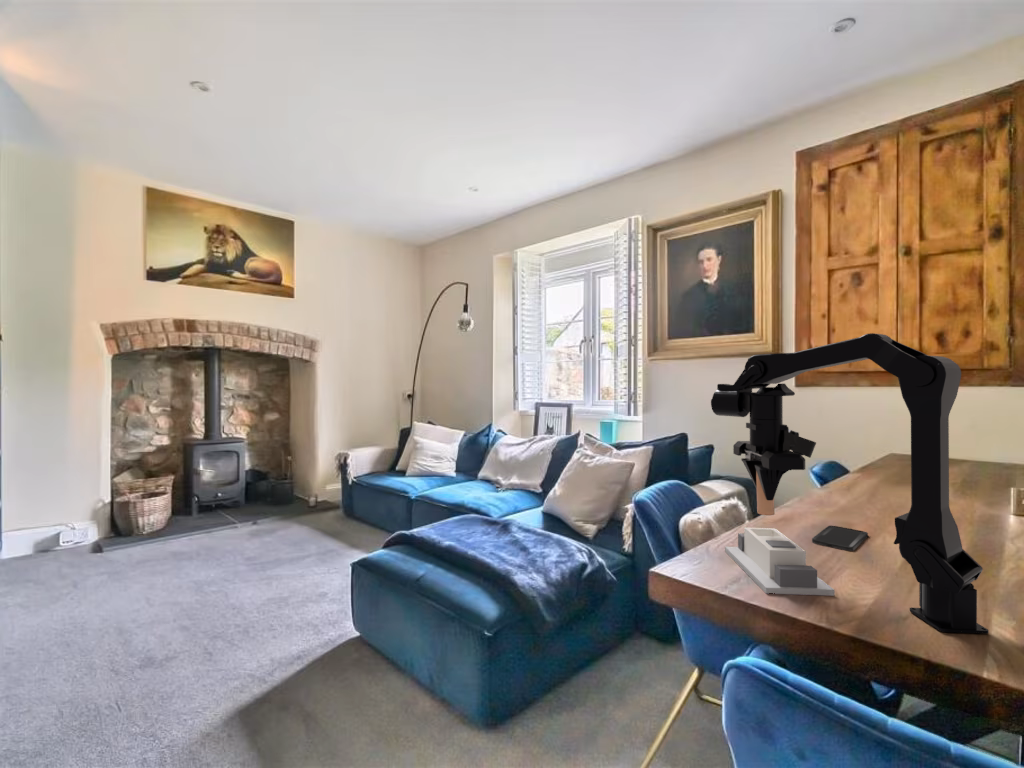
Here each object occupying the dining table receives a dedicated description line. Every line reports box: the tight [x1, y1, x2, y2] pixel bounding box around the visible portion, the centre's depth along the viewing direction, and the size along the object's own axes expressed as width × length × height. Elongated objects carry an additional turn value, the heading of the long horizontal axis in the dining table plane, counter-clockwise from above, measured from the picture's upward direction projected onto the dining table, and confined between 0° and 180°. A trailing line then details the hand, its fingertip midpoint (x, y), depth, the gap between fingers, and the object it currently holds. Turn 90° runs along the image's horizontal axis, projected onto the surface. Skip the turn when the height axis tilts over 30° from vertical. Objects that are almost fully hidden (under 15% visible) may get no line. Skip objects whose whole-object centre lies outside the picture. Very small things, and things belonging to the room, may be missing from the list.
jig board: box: [724, 532, 835, 597], centre depth 91 cm, size 20×11×4 cm, turn 175°
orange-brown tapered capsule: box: [756, 471, 776, 516], centre depth 94 cm, size 3×3×9 cm
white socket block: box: [743, 527, 807, 578], centre depth 91 cm, size 13×6×5 cm, turn 172°
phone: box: [811, 525, 869, 552], centre depth 109 cm, size 8×1×15 cm
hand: (766, 498), depth 94 cm, fingers closed on orange-brown tapered capsule, 3 cm apart
